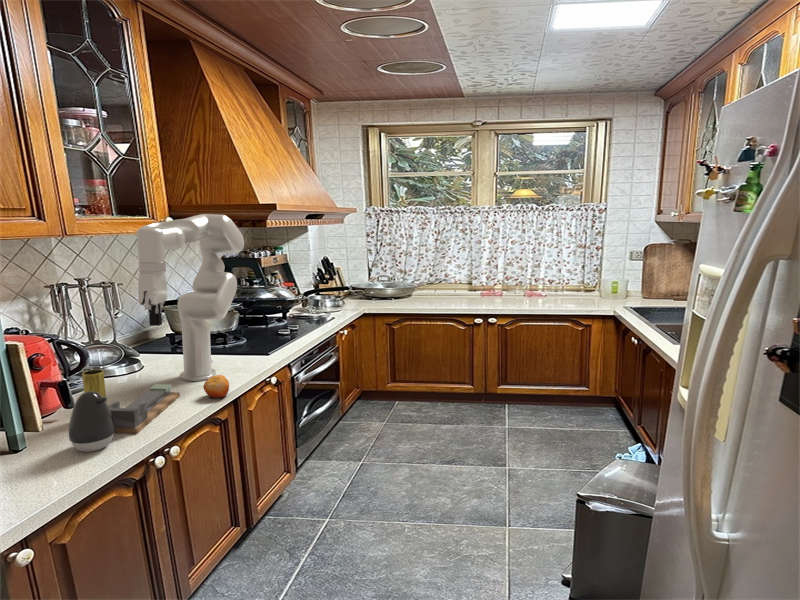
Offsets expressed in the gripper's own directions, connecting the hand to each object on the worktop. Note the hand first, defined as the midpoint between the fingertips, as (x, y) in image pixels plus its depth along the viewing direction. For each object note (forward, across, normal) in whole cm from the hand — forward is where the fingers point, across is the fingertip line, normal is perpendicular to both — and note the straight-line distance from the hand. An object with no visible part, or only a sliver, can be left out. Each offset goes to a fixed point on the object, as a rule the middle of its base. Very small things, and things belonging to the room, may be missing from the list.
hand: (156, 324), depth 155 cm
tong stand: (+25, +11, 0) cm, 27 cm away
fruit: (+25, -4, +17) cm, 31 cm away
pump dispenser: (+25, +33, -2) cm, 42 cm away
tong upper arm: (+22, +9, 0) cm, 24 cm away
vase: (+25, +15, -12) cm, 32 cm away
